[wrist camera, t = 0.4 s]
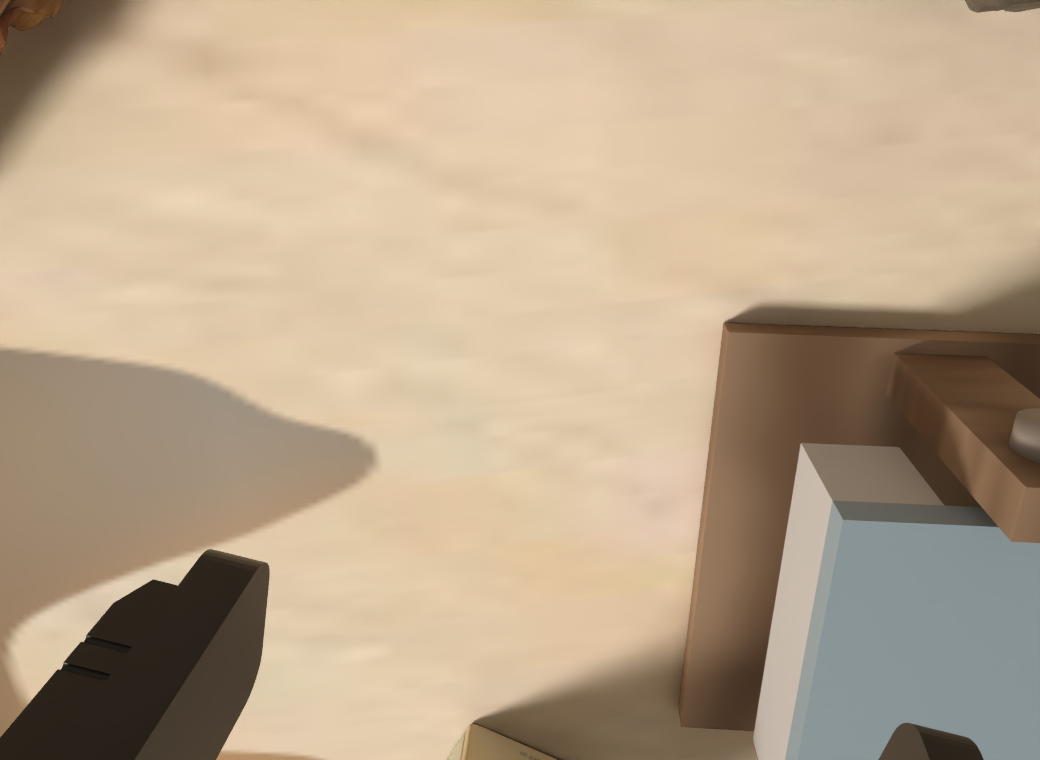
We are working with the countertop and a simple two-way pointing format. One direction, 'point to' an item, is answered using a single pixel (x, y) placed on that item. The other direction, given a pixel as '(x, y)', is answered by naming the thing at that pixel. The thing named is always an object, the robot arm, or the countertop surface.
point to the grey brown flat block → (1002, 5)
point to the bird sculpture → (24, 14)
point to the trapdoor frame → (844, 421)
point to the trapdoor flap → (896, 617)
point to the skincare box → (492, 747)
